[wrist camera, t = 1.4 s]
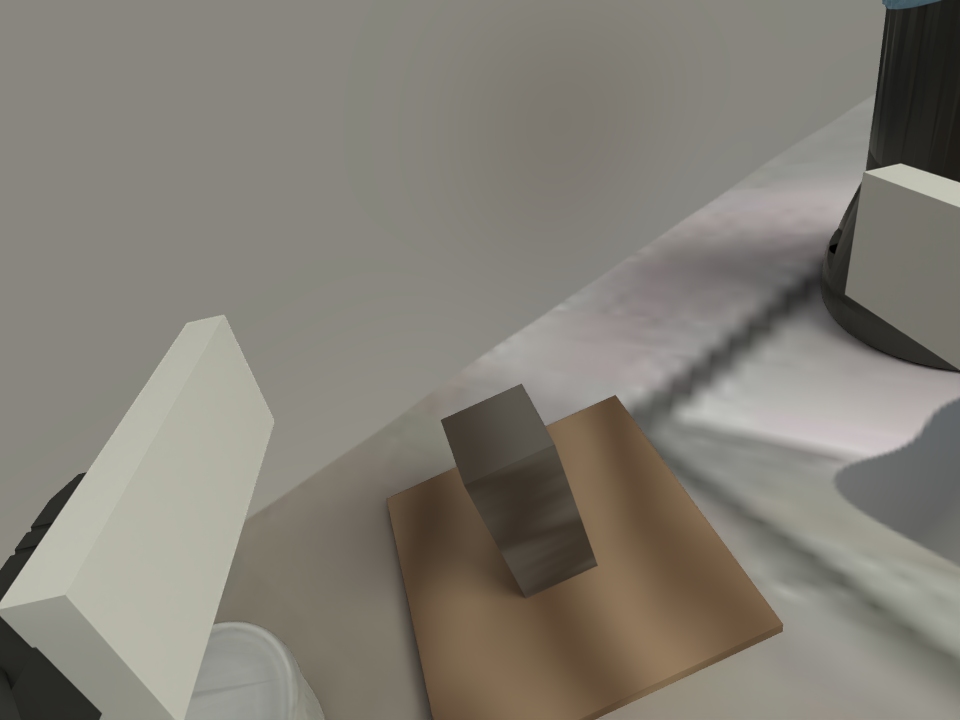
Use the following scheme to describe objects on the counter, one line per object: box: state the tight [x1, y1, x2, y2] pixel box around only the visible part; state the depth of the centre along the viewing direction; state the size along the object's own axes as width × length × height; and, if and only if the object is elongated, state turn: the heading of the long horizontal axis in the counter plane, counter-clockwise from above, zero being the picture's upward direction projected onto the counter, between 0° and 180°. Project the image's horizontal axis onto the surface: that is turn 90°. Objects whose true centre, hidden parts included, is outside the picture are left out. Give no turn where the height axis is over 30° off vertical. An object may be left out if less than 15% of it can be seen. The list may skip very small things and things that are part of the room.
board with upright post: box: [387, 384, 783, 720], centre depth 29 cm, size 16×16×11 cm
